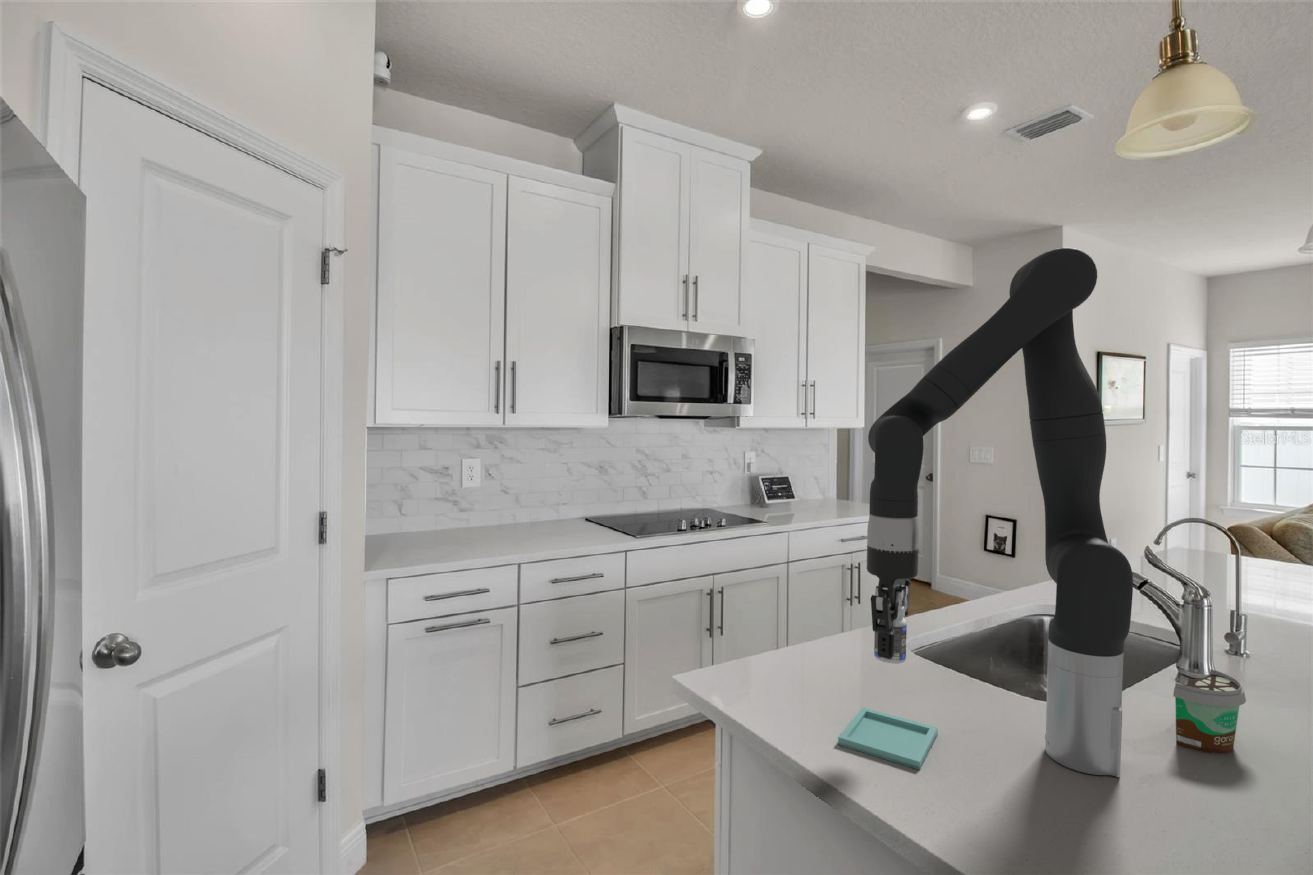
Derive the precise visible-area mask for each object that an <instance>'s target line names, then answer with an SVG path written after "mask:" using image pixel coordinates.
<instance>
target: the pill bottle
mask: <svg viewBox="0 0 1313 875" xmlns="http://www.w3.org/2000/svg"><path fill="white" fill-rule="evenodd" d="M894 611H895V610H894ZM894 611H890V613H891V614H892V613H894ZM904 615H905V609H904V606H903V605H901V606H900V616H899V619H898V620H896V621H895V633H894V656H893V657H892V658H891V659H888V658H883V657H880V656H879V655H878V632H875V631H874V634H873V635H874V645H873V646H874V647H873V656H874V657H875V659H876V660H878V661H879V662H882V663H887V664H895V665H897V664H903V663H904V662H906V660H907V631H908V630H907V629H908V628H907V626H908V625H907V624H908V622H907V619H906V617H905V618H903V617H904ZM905 619H906V620H905ZM882 625H886V623H885V621H884V620H882Z"/></svg>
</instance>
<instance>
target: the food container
mask: <svg viewBox="0 0 1313 875" xmlns="http://www.w3.org/2000/svg"><path fill="white" fill-rule="evenodd" d="M1209 671H1210V673H1209V674H1208V675H1206V676H1205V677H1201V678H1200V677H1198V678H1194V679H1193V680H1191V681H1190V682H1189V683H1187V684H1181V683H1177V682H1175V683H1174V684H1175V686H1174V688H1173V695H1172V696H1173V697H1174V698H1175V699H1174V700H1175V744H1176V746H1179V747H1182V748H1185V749H1188V750H1193V751H1195V752H1199V753H1205V754H1211V755H1213V754H1214V755H1227V754H1231V753H1232V752H1233V750H1234V745H1235V738H1236V731H1237V724H1238V718H1239V711H1240V706H1242V705H1244V704H1246V702H1247V698H1246V694H1245V690H1244V688H1243V687H1242V684H1241V682H1240V681H1238V679H1236V678H1235V677H1233V676H1231V675H1229V674H1227V673H1224V672H1221V671H1219V670H1215V669H1212V668H1210V670H1209Z"/></svg>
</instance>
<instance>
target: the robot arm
mask: <svg viewBox="0 0 1313 875" xmlns="http://www.w3.org/2000/svg"><path fill="white" fill-rule="evenodd" d="M1097 281H1098V270H1097V266H1096V263H1095V262H1094V260H1093V258H1092V257H1091V256H1090V255H1089V254H1087V253H1086V252H1085V251H1083V250H1082V249H1078V248H1074V247H1058V248H1054V249H1050V250H1048V251H1045V252H1043V253H1041V254H1039V255H1037V256H1035V257H1034V258H1032V259H1031V260H1029V261H1028V262H1026V263H1025V264H1023V265H1022V266H1021V267H1020V268H1019V269H1018V270H1016V272H1015V274H1014V275H1013V277H1012V279H1011V282H1010V283H1009V284H1010V285H1009V298H1008V299H1007V300H1006V301H1005V302H1004V303H1003V304H1002V306H1001V307H1000V308H999V309H998V310H997V311H996V312H995V313H994V314H993V315H991V316H990V318H989V319H988V320H986V322H984V323H983V324H982V325H980V327H978V328H977V329H976V330H975V331H973V332H972V333H971V334H970V335H968V336H967V337H966V338H965V339H963V340H961V342H959V344H958V345H956V346H955V347H954V348H953V349H952V350H950V351H949V352H947V354H946V355H945V356H943V357H942V358H941V359H940V361H938V362H937V363H936V364H934V366H933V367H932V368H931V369H930V370H929V371H927V373H926V374H925V375H924V376H923V377H922V378H921V379H920V380H919V381H918V382H917V383H916V385H915V386H913V388H912V389H911V390H909V392H908V393H907V394H905V395H904V396H902V397H901V398H900V399H899V400H897V401H896V402H895V403H894V404H893V405H891V406H890V407H889V408H888V409H886V411H884V412H883V413H882V414H881V415H880V416H879V417H878V418H877V419H876V420H875V421H874V423H872V425H871V427H870V429H869V430H868V436H867V439H868V445H869V447H870V449H871V451H872V452H873V453H874V478H873V479H872V481H871V483H870V486H869V487H870V488H869V489H870V490H869V514H868V523H867V530H866V531H867V532H866V570H867V572H868V573H869V574H870V575H872V576H875V577H877V578H878V580H879V581H878V584H877V585H876V587H875V590H874V591H875V592H874V594H872V595H871V596H870V608H871V624H872V626H871V627H872V632H874V633H875V632H878V655H879V656H880V657H883V658H888V659H891V658H892V657H893V656H894V633H895V621H896V620H898V619H899V616H900V606H901V605H903V606H904V609H905V615H904V617H903V618H905V620H906V621H907V619H906V618H907V617H908V616H909V604H910V603H909V602H910V592H911V591H910V590H911V584H912V582H911V579H913V578H916V577H918V574H919V555H920V554H919V553H920V552H919V551H920V549H919V548H920V547H919V546H920V542H919V541H920V528H919V521H918V520H919V519H918V516H919V515H918V510H919V508H918V507H919V493H918V485H919V482H920V481H919V480H920V475H921V470H922V464H923V459H924V458H923V456H924V448H925V447H924V436H925V435H926V434H927V433H928V432H930V430H932V429H933V428H934V427H935V426H936V425H938V424H939V423H941V422H943V421H946V420H949V418H951V417H952V416H953V415H954V414H955V413H957V411H958V410H959V409H961V408H962V407H963V406H964V405H965V404H966V403H967V402H968V401H969V400H970V399H971V398H973V396H974V395H975V394H977V392H978V391H979V390H981V388H982V387H984V386H985V384H986V383H987V382H988V381H989V380H990V379H992V377H994V376H995V374H996V373H997V372H998V371H999V370H1000V369H1001V368H1002V367H1003V366H1004V365H1005V364H1006V363H1007V362H1009V360H1011V359H1012V358H1013V357H1014V355H1016V354H1017V353H1018V352H1019V351H1021V350H1022V355H1023V365H1024V377H1025V386H1026V387H1025V388H1026V395H1027V402H1028V403H1027V404H1028V417H1029V425H1030V431H1031V432H1030V433H1031V440H1032V441H1031V442H1032V447H1033V453H1034V458H1035V463H1036V469H1037V476H1038V478H1039V479H1038V480H1039V483H1040V488H1041V493H1042V497H1043V504H1044V505H1043V506H1044V523H1045V524H1044V525H1045V526H1044V527H1045V529H1044V530H1045V532H1044V534H1045V535H1044V536H1045V546H1044V547H1045V554H1044V555H1045V556H1044V557H1045V566H1046V569H1047V573H1048V575H1049V576H1050V578H1051V579H1052V580H1053V582H1054V583H1055V584H1056V590H1055V591H1056V594H1055V607H1054V608H1055V609H1054V611H1055V612H1054V616H1053V618H1052V619H1050V621H1049V624H1048V634H1047V635H1048V636H1047V637H1048V640H1047V642H1048V644H1047V673H1046V674H1047V675H1046V676H1047V677H1046V706H1045V709H1046V712H1045V734H1044V735H1045V736H1044V740H1045V746H1044V747H1045V748H1044V749H1045V752H1046V754H1047V755H1048V756H1049V757H1050V758H1051V759H1052V760H1053V761H1055V762H1056V763H1059V764H1060V765H1061V766H1064V767H1066V768H1069V769H1071V770H1074V771H1076V772H1080V773H1084V774H1089V775H1095V776H1096V775H1097V776H1113V777H1116V778H1120V777H1121V762H1122V734H1123V733H1122V732H1123V729H1122V728H1123V706H1122V705H1123V704H1122V703H1123V702H1122V700H1123V678H1124V675H1123V674H1124V672H1123V671H1124V650H1125V641H1126V640H1127V637H1128V636H1129V632H1130V630H1131V620H1132V618H1131V617H1132V605H1133V596H1134V595H1133V591H1134V577H1133V570H1132V566H1131V564H1130V561H1129V559H1128V558H1127V557H1126V556H1125V554H1124V553H1123V552H1122V551H1120V550H1119V549H1118V548H1117V547H1115V546H1113V545H1112V544H1110V543H1109V541H1108V538H1107V533H1106V529H1105V526H1104V520H1103V516H1102V515H1103V514H1102V510H1101V502H1100V501H1101V500H1100V499H1101V498H1100V497H1101V485H1102V479H1103V475H1104V470H1105V465H1106V459H1107V458H1106V457H1107V433H1106V432H1107V431H1106V424H1105V418H1104V413H1103V412H1104V409H1103V405H1102V401H1101V397H1100V394H1099V392H1098V389H1097V387H1096V385H1095V384H1094V382H1093V379H1092V377H1091V375H1090V374H1089V372H1088V370H1087V367H1085V364H1084V362H1083V361H1082V359H1081V357H1080V353H1079V351H1078V348H1077V344H1076V338H1075V331H1074V330H1075V328H1074V313H1073V312H1074V310H1075V309H1077V308H1078V307H1080V306H1081V305H1082V304H1084V302H1085V301H1087V300H1088V298H1090V296H1091V295H1092V293H1093V292H1094V290H1095V287H1096V285H1097ZM894 610H895V611H894ZM890 611H894V613H892V614H891V613H890ZM882 620H884V621H885V623H886V625H882Z"/></svg>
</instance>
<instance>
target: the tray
mask: <svg viewBox="0 0 1313 875" xmlns="http://www.w3.org/2000/svg"><path fill="white" fill-rule="evenodd" d="M938 731H939V729H938V727H937V726H934V725H929V724H926V723H922V722H917V721H915V720H911V719H907V718H904V717H900V716H896V715H892V714H889V713H885V712H882V711H881V712H880V711H877V710H874V709H870V708H866V707H863V706H862V707H861V708H860V710H858V711H857V713H856V714H855V716H854V717H853V719H851V721H850V722H849V723H848V724H847V725H846V727H845V728H844V730H842V732H841V733H840V734H839V736H838V737H837V744H838V745H839V746H842V747H845V748H847V749H851V750H854V751H858V752H860V753H863V754H867V755H871V756H874V757H877V758H880V759H883V760H887V761H890V762H893V763H895V764H899V765H902V766H906V767H909V768H912V769H915V770H919V771H920V770H921V769H922V766H923V765H924V762H925V761H926V758H927V757H928V755H929V753H930V751H931V750H932V749H931V748H932V747H933V745H934V743H935V741H936V739H937V737H938Z"/></svg>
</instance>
